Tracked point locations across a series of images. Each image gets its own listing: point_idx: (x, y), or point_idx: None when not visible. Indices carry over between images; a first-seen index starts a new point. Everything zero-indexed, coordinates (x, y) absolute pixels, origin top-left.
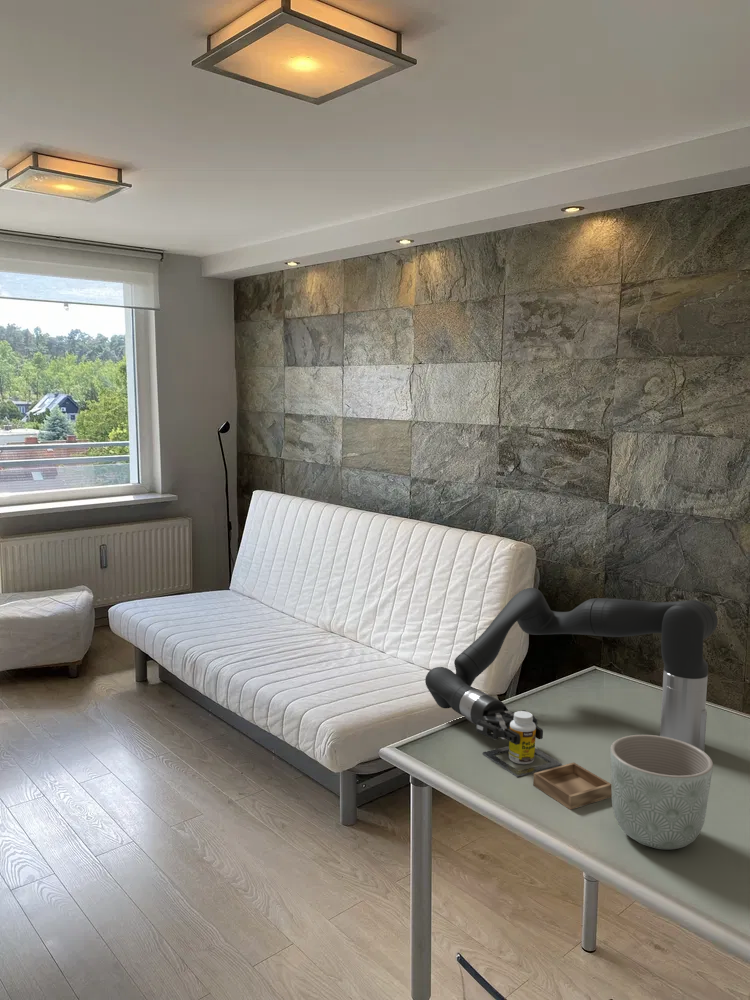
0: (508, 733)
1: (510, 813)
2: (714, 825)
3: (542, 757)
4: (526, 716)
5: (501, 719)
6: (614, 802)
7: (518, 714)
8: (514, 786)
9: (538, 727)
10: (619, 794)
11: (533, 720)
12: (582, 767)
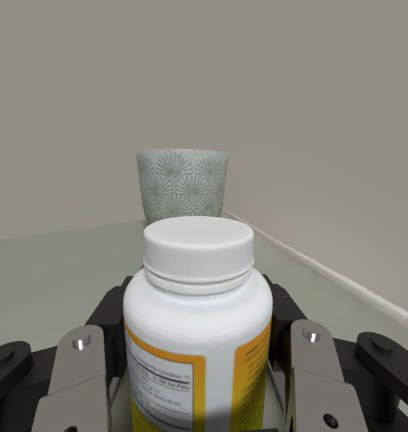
0: (293, 308)
1: (323, 269)
2: (125, 227)
3: (111, 401)
4: (201, 218)
5: (321, 427)
6: (221, 202)
7: (226, 230)
8: None
9: (122, 287)
10: (224, 187)
11: (30, 352)
12: (142, 266)
